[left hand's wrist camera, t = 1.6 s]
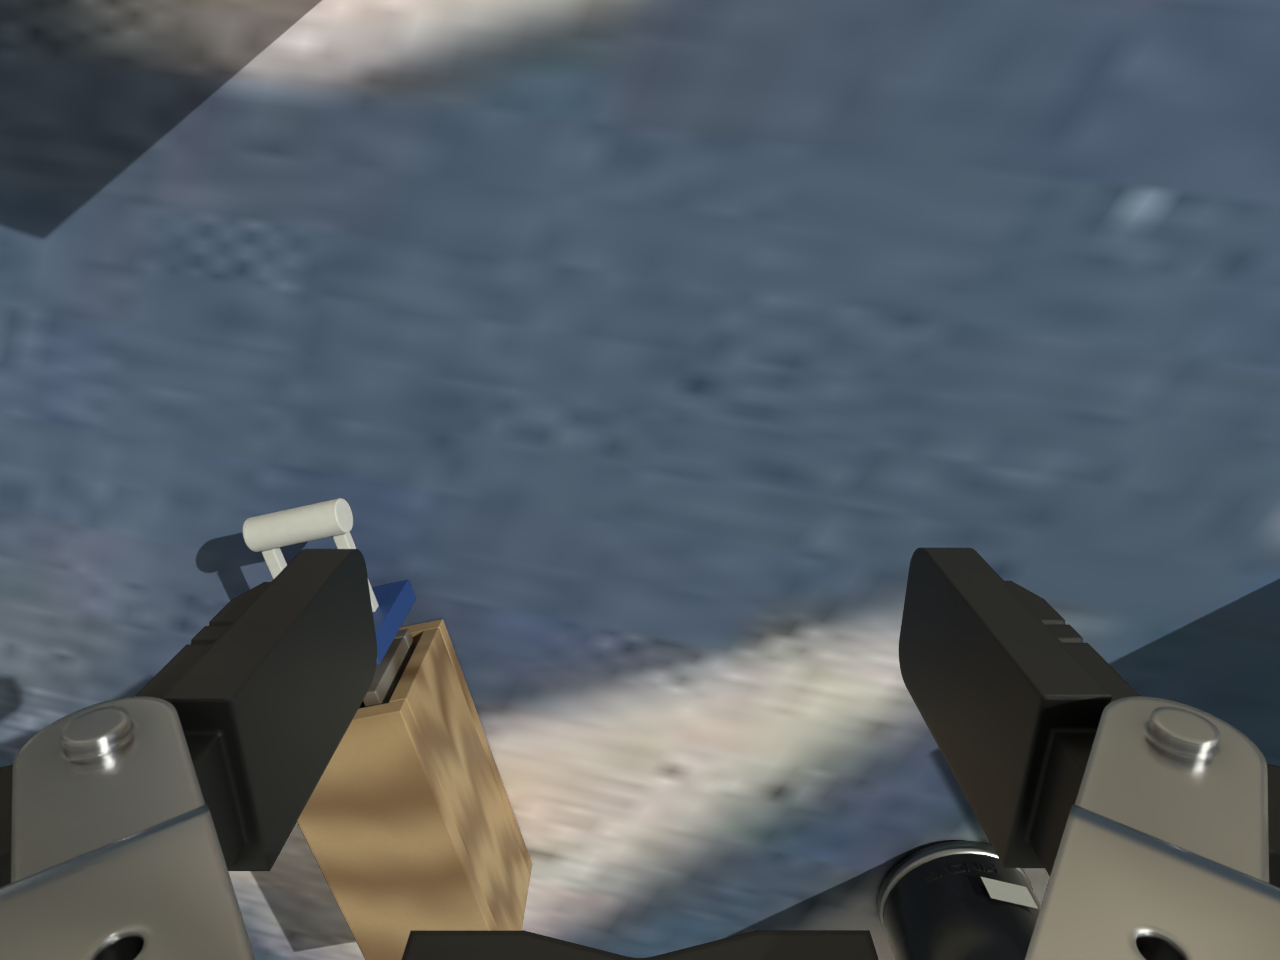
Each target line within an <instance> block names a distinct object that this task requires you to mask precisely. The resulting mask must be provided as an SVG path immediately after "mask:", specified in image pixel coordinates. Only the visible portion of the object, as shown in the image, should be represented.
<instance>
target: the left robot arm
mask: <svg viewBox="0 0 1280 960" xmlns="http://www.w3.org/2000/svg"><path fill="white" fill-rule="evenodd" d="M191 641H192V642H191V645H186V646H185V647H184V648H183V649H182V650H181V651H180V652H179V653H178V654H177V655H176V656H175V657H174V658H173V659H172V660H171V661H170V662H169V663H168V664H167V665H166V666H165V667H164V668H163V669H162V670H161V671H160V672H159V673H158V674H157V675H156V676H155V677H154V678H153V679H152V680H151V681H150V682H149V683H148V684H147V685H146V686H145V687H144V688H143V689H142V690H141V691H140V692H139V693H138V694H137V695H136V696H135V697H126V698H119V699H114V700H109V701H105V702H101V703H98V704H94V705H91V706H89V707H86V708H83V709H80V710H78V711H76V712H73V713H71V714H69V715H67V716H65V717H63V718H61V719H59V720H57V721H55V722H53V723H52V724H50V725H49V726H47V727H45V728H44V729H42V730H41V731H40V732H38V733H37V734H36V735H35V736H33V737H32V738H31V739H30V740H29V741H28V742H27V743H26V744H25V745H24V746H23V747H22V749H21V750H20V751H19V752H18V754H17V756H16V758H15V760H14V764H13V765H11V766H6V767H1V768H0V960H255V957H254V954H253V951H252V948H251V944H250V941H249V938H248V934H247V931H246V928H245V925H244V921H243V918H242V915H241V912H240V908H239V905H238V902H237V898H236V895H235V892H234V889H233V885H232V882H231V879H230V875H229V872H228V871H270V870H271V868H272V866H273V864H274V862H275V860H276V859H277V857H278V855H279V853H280V851H281V850H282V848H283V846H284V844H285V842H286V840H287V839H288V837H289V835H290V833H291V831H292V829H293V828H294V826H295V824H296V822H297V820H298V818H299V817H300V815H301V813H302V811H303V809H304V807H305V806H306V804H307V802H308V800H309V798H310V796H311V795H312V793H313V791H314V789H315V787H316V786H317V784H318V782H319V780H320V778H321V776H322V775H323V773H324V771H325V769H326V767H327V765H328V764H329V762H330V760H331V758H332V756H333V754H334V753H335V751H336V749H337V747H338V745H339V743H340V742H341V740H342V738H343V736H344V734H345V732H346V731H347V729H348V727H349V725H350V723H351V722H352V720H353V718H354V716H355V714H356V712H357V711H358V709H359V707H360V705H361V703H362V701H363V700H364V698H365V696H366V694H367V692H368V690H369V689H370V686H371V684H372V682H373V678H374V675H375V670H376V663H377V641H376V633H375V626H374V619H373V612H372V605H371V598H370V591H369V584H368V577H367V570H366V564H365V560H364V557H363V555H362V553H361V552H360V551H359V550H358V549H304V550H302V551H300V552H299V553H298V554H297V555H296V556H295V558H294V559H293V560H292V561H291V562H290V563H289V564H288V565H287V566H286V567H285V568H284V569H283V570H282V571H281V572H280V573H279V574H278V575H277V576H276V577H275V579H274V580H273V581H272V582H264V583H262V584H260V585H258V586H256V587H255V588H253V589H251V590H249V591H247V592H246V593H244V594H242V595H240V596H238V597H236V598H235V599H233V600H231V601H230V602H229V603H228V604H227V605H226V606H225V607H224V608H223V609H222V610H221V611H220V612H219V613H218V614H217V615H216V616H215V617H214V618H213V619H212V620H211V621H210V625H209V626H205V627H204V628H203V629H202V630H201V631H200V632H199V633H198V634H197V635H196V636H195V637H194V638H193V639H192V640H191ZM899 662H900V668H901V673H902V677H903V680H904V683H905V685H906V687H907V689H908V691H909V693H910V695H911V697H912V698H913V700H914V702H915V704H916V706H917V708H918V709H919V711H920V713H921V715H922V717H923V719H924V721H925V722H926V724H927V726H928V728H929V730H930V732H931V734H932V735H933V737H934V739H935V741H936V743H937V745H938V747H939V748H940V750H941V752H942V754H943V756H944V758H945V759H946V761H947V763H948V765H949V767H950V769H951V771H952V772H953V774H954V776H955V778H956V780H957V782H958V784H959V785H960V787H961V789H962V791H963V793H964V795H965V796H966V798H967V800H968V802H969V804H970V806H971V808H972V809H973V811H974V813H975V815H976V817H977V819H978V821H979V822H980V824H981V826H982V828H983V830H984V832H985V834H986V835H987V837H988V839H989V841H990V843H991V845H989V844H986V843H981V842H975V841H951V842H944V843H939V844H936V845H932V846H929V847H926V848H924V849H921V850H919V851H917V852H915V853H913V854H911V855H910V856H908V857H906V858H905V859H904V860H902V861H901V862H900V863H898V864H897V865H896V866H895V867H894V868H893V869H892V870H891V871H890V872H889V874H888V875H887V876H886V878H885V879H884V881H883V883H882V885H881V887H880V890H879V893H878V897H877V910H878V915H879V918H880V921H881V924H882V927H883V930H884V932H885V934H886V936H887V937H888V940H889V943H890V946H891V949H892V952H893V955H894V958H895V960H1280V767H1279V766H1274V765H1269V764H1266V760H1265V758H1264V756H1263V754H1262V752H1261V751H1260V750H1259V749H1258V747H1257V746H1256V745H1255V744H1254V743H1253V742H1252V741H1251V740H1250V739H1249V738H1248V737H1247V736H1245V735H1244V734H1243V733H1242V732H1240V731H1239V730H1238V729H1236V728H1235V727H1233V726H1231V725H1230V724H1228V723H1227V722H1225V721H1223V720H1221V719H1219V718H1217V717H1215V716H1213V715H1211V714H1209V713H1207V712H1204V711H1202V710H1200V709H1197V708H1194V707H1191V706H1189V705H1186V704H1182V703H1179V702H1175V701H1171V700H1166V699H1161V698H1154V697H1141V696H1140V695H1139V694H1138V693H1137V692H1136V691H1135V690H1134V689H1133V688H1132V687H1131V686H1130V685H1129V684H1128V683H1127V682H1126V681H1125V680H1124V679H1123V678H1122V677H1121V676H1120V675H1119V674H1118V673H1117V672H1116V671H1115V670H1114V669H1113V668H1112V667H1111V666H1110V665H1109V664H1108V663H1107V662H1106V661H1105V660H1104V659H1103V658H1102V657H1101V656H1100V655H1099V654H1098V653H1097V652H1096V651H1095V650H1094V649H1093V648H1092V647H1091V646H1090V645H1089V644H1088V643H1083V638H1082V637H1081V636H1080V635H1079V634H1078V633H1077V632H1076V631H1075V630H1074V629H1073V628H1072V627H1071V626H1070V625H1065V620H1064V619H1063V618H1062V617H1061V616H1060V615H1059V614H1058V613H1057V612H1056V611H1055V610H1054V609H1053V608H1052V607H1051V606H1050V605H1049V604H1048V603H1047V602H1046V601H1045V600H1044V599H1043V598H1041V597H1039V596H1037V595H1036V594H1034V593H1032V592H1030V591H1028V590H1027V589H1025V588H1023V587H1021V586H1019V585H1018V584H1016V583H1014V582H1012V581H1004V580H1003V579H1002V578H1001V577H1000V576H999V575H998V574H997V573H996V572H995V571H994V570H993V569H992V568H991V567H990V566H989V564H988V563H987V562H986V561H985V560H984V559H983V558H982V557H981V556H980V555H979V554H978V553H977V552H976V551H975V550H974V549H972V548H918V549H916V550H915V552H914V553H913V556H912V558H911V562H910V567H909V575H908V582H907V589H906V596H905V603H904V611H903V618H902V625H901V632H900V640H899ZM1022 868H1045V869H1046V871H1047V872H1048V874H1049V876H1050V879H1049V882H1048V885H1047V889H1046V892H1045V895H1044V898H1043V902H1042V905H1041V904H1040V903H1039V901H1038V899H1037V897H1036V896H1035V894H1034V892H1033V889H1032V886H1031V883H1030V882H1029V880H1028V878H1027V876H1026V874H1025V873H1024V871H1023V869H1022ZM402 960H878V957H877V953H876V950H875V947H874V944H873V941H872V937H871V934H870V931H753V932H749V933H745V934H741V935H737V936H733V937H729V938H725V939H721V940H717V941H713V942H709V943H705V944H701V945H697V946H693V947H689V948H685V949H681V950H677V951H673V952H670V953H666V954H662V955H658V956H654V957H648V958H632V957H626V956H622V955H618V954H614V953H610V952H607V951H603V950H599V949H595V948H591V947H587V946H583V945H579V944H575V943H571V942H567V941H563V940H559V939H555V938H551V937H547V936H543V935H539V934H535V933H531V932H527V931H410V934H409V937H408V941H407V944H406V947H405V950H404V953H403V957H402Z"/></svg>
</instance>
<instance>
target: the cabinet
mask: <svg viewBox="0 0 1280 960" xmlns="http://www.w3.org/2000/svg"><path fill="white" fill-rule="evenodd" d="M404 629H409V630H410V633H411V636H412V638H413V641H414V643H415V646H416V648H415V650H414V652H413V654H412V656H411V658H410V660H409V662H408V664H407V666H406V668H405V670H404V672H403V674H402V676H401V678H400V680H399V682H398V684H397V686H396V688H395V690H394V692H393V694H392V696H391V698H390V701H389V703H385V704H380V705H375V706H370V707H364V708H359V709H358V711H357V712H356V714H355V716H354V718H353V720H352V722H351V723H350V725H349V727H348V729H347V731H346V732H345V734H344V736H343V738H342V740H341V742H340V743H339V745H338V747H337V749H336V751H335V753H334V754H333V756H332V758H331V760H330V762H329V764H328V765H327V767H326V769H325V771H324V773H323V775H322V776H321V778H320V780H319V782H318V784H317V786H316V787H315V789H314V791H313V793H312V795H311V796H310V798H309V800H308V802H307V804H306V806H305V807H304V809H303V811H302V813H301V815H300V817H299V818H298V820H297V822H298V824H299V826H300V828H301V830H302V833H303V835H304V837H305V839H306V841H307V843H308V845H309V847H310V849H311V851H312V853H313V855H314V857H315V859H316V861H317V863H318V865H319V867H320V869H321V871H322V873H323V875H324V877H325V879H326V881H327V883H328V885H329V887H330V889H331V891H332V893H333V895H334V897H335V899H336V901H337V903H338V905H339V907H340V909H341V911H342V913H343V915H344V917H345V919H346V921H347V924H348V926H349V928H350V930H351V932H352V934H353V936H354V938H355V940H356V942H357V944H358V946H359V948H360V950H361V952H362V954H363V956H364V958H365V960H402V957H403V953H404V950H405V947H406V944H407V941H408V937H409V934H410V931H522V925H523V919H524V912H525V906H526V900H527V894H528V887H529V881H530V874H531V868H532V862H531V860H530V857H529V854H528V851H527V849H526V846H525V843H524V840H523V838H522V835H521V832H520V829H519V827H518V824H517V821H516V818H515V816H514V813H513V810H512V807H511V805H510V802H509V799H508V796H507V794H506V791H505V788H504V785H503V783H502V780H501V777H500V774H499V772H498V769H497V766H496V763H495V761H494V758H493V755H492V752H491V750H490V747H489V744H488V741H487V739H486V736H485V733H484V730H483V728H482V725H481V722H480V719H479V717H478V714H477V711H476V708H475V706H474V703H473V700H472V697H471V695H470V692H469V689H468V686H467V684H466V681H465V678H464V675H463V673H462V670H461V667H460V664H459V662H458V659H457V656H456V653H455V651H454V648H453V645H452V642H451V640H450V637H449V634H448V631H447V629H446V626H445V623H444V620H443V619H440V620H435V621H430V622H425V623H420V624H415V625H410V626H405V627H400V629H399V630H404ZM399 630H398V631H399Z"/></svg>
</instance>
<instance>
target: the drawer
mask: <svg viewBox="0 0 1280 960" xmlns="http://www.w3.org/2000/svg"><path fill="white" fill-rule="evenodd" d="M352 526H353V516H352V512H351V509H350V506H349V505H348V503H347V502H346V501H345V500H344V499H341V498H339V499H334V500H330V501H325V502H320V503H316V504H311V505H307V506H302V507H297V508H293V509H288V510H283V511H279V512H274V513H269V514H265V515H260V516H256V517H251V518H248V519H247V520H246V521H245V522H244V525H243V537H244V541H245V543H246V545H247V546H248V548H249V549H251V550H252V551H255V552H259V551H263V552H262V554H263V557H264V559H265V561H266V563H267V566H268V568H269V570H270V573H271V575H272V577H273V579H275V577H276V576H277V575H278V574H279V573H280V572H281V571H282V570H283V569H284V568H285V567H286V566H287V563H286V561H285V559H284V556H283V554H282V552H281V550H280V547H283V546H287V545H292V544H297V543H302V542H306V541H311V540H316V539H320V538H325V537H330V536H334V537H333V539H334V541H335V544H336V546H337V549H356V547H355V544H354V542H353V539H352V537H351V534H350V531H351V529H352ZM368 584H369V591H370V598H371V605H372V612H373V619H374V626H375V633H376V641H377V663H376V670H375V675H374V678H373V682H372V684H371V686H370V689H369V690H368V692H367V694H366V696H365V698H364V700H363V701H362V703H361V705H360V707H359V708H364V707H370V706H375V705H380V704H385V703H389V701H390V698H391V696H392V694H393V692H394V690H395V688H396V686H397V684H398V682H399V680H400V678H401V676H402V674H403V672H404V670H405V668H406V666H407V664H408V662H409V660H410V658H411V656H412V654H413V652H414V650H415V648H416V646H415V643H414V641H413V638H412V636H411V633H410V630H409V629H404V630H399V629H400V627H401V625H402V623H403V621H404V620H405V618H406V616H407V614H408V612H409V610H410V609H411V607H412V605H413V603H414V601H415V600H416V598H415V595H414V592H413V589H412V587H411V584H410V581H409V580H405V581H400V582H395V583H390V584H385V585H380V586H375V587H371V585H370V582H369V580H368ZM398 630H399V631H398Z"/></svg>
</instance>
